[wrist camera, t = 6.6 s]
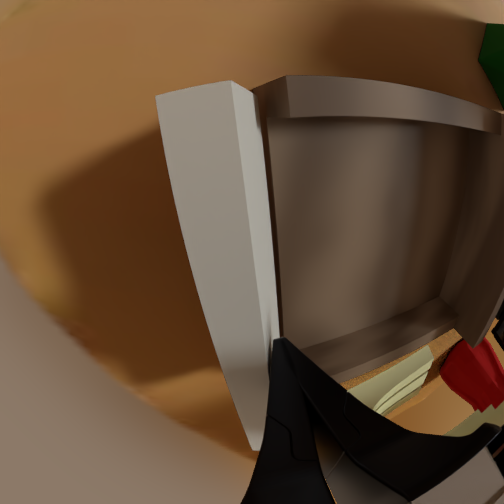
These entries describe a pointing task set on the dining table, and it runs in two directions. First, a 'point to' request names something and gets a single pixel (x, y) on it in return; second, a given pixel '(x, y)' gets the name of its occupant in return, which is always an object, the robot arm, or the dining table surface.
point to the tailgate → (226, 232)
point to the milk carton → (494, 57)
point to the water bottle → (475, 374)
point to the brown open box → (381, 217)
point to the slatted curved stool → (415, 392)
